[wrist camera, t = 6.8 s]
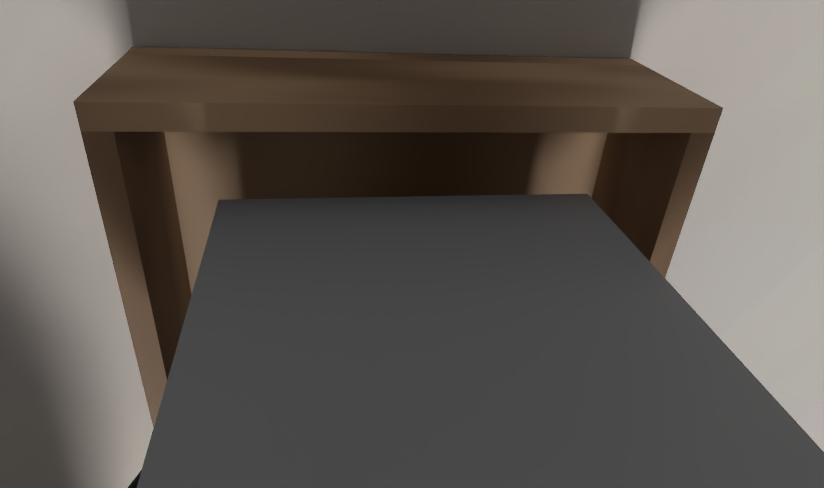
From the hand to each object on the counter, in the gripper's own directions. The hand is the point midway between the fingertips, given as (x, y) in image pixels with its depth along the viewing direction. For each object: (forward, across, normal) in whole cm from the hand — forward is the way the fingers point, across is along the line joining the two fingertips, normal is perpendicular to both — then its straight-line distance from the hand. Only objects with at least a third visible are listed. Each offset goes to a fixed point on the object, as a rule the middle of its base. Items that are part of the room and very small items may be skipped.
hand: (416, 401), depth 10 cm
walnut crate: (+4, 0, 0) cm, 4 cm away
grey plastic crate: (+2, 0, 0) cm, 2 cm away
